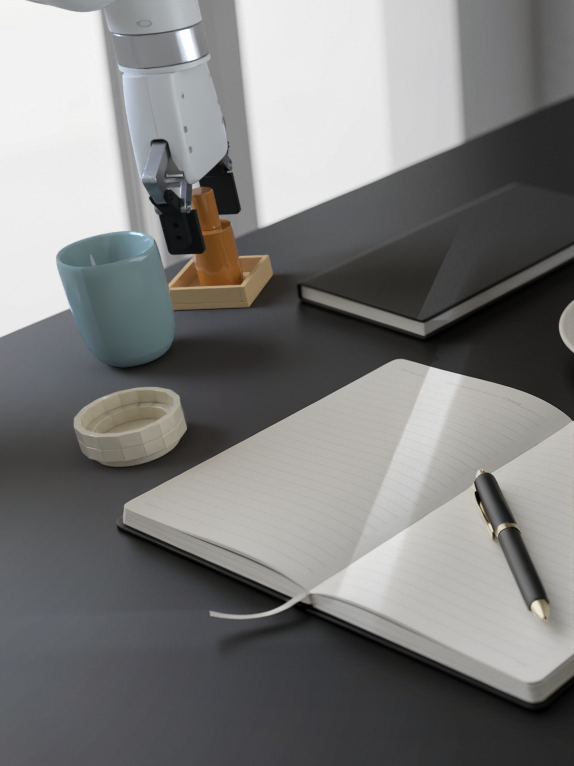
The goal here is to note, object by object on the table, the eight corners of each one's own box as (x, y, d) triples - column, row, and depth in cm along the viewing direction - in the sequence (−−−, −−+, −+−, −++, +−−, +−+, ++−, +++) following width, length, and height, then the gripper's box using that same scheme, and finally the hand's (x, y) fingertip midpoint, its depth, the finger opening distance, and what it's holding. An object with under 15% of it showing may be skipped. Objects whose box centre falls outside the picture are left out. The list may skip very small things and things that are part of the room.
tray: (168, 310, 117) (162, 289, 116) (197, 277, 124) (191, 257, 123) (249, 307, 117) (244, 286, 116) (273, 274, 124) (269, 254, 123)
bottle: (195, 295, 119) (170, 199, 114) (209, 278, 122) (186, 184, 118) (237, 294, 119) (214, 197, 114) (251, 276, 122) (228, 182, 117)
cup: (104, 387, 104) (70, 275, 100) (76, 356, 110) (42, 248, 105) (198, 356, 109) (169, 248, 104) (167, 328, 114) (138, 223, 109)
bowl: (67, 473, 93) (55, 438, 91) (109, 422, 99) (99, 388, 98) (168, 469, 93) (157, 434, 91) (203, 418, 99) (194, 384, 98)
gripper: (156, 25, 117) (199, 201, 125) (74, 75, 102) (129, 271, 110) (237, 22, 117) (275, 198, 125) (167, 71, 102) (215, 268, 110)
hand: (206, 232), depth 118 cm, fingers open, 9 cm apart
